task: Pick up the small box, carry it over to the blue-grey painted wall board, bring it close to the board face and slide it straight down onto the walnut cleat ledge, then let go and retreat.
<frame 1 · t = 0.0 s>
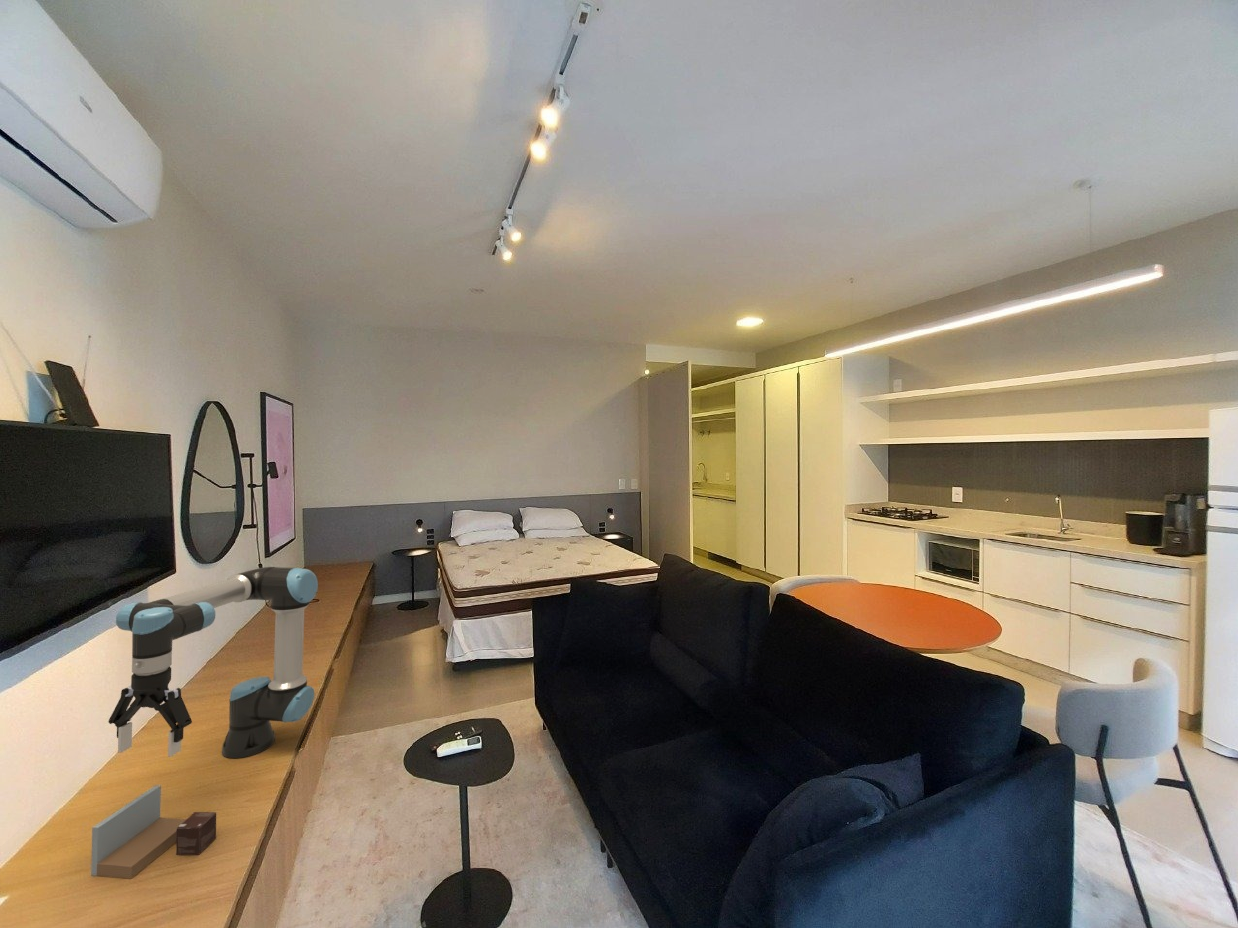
hand: (149, 752, 128), 28 cm above the tv stand, fingers open, 13 cm apart
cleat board: (142, 851, 131), on the tv stand
box: (196, 847, 133), on the tv stand
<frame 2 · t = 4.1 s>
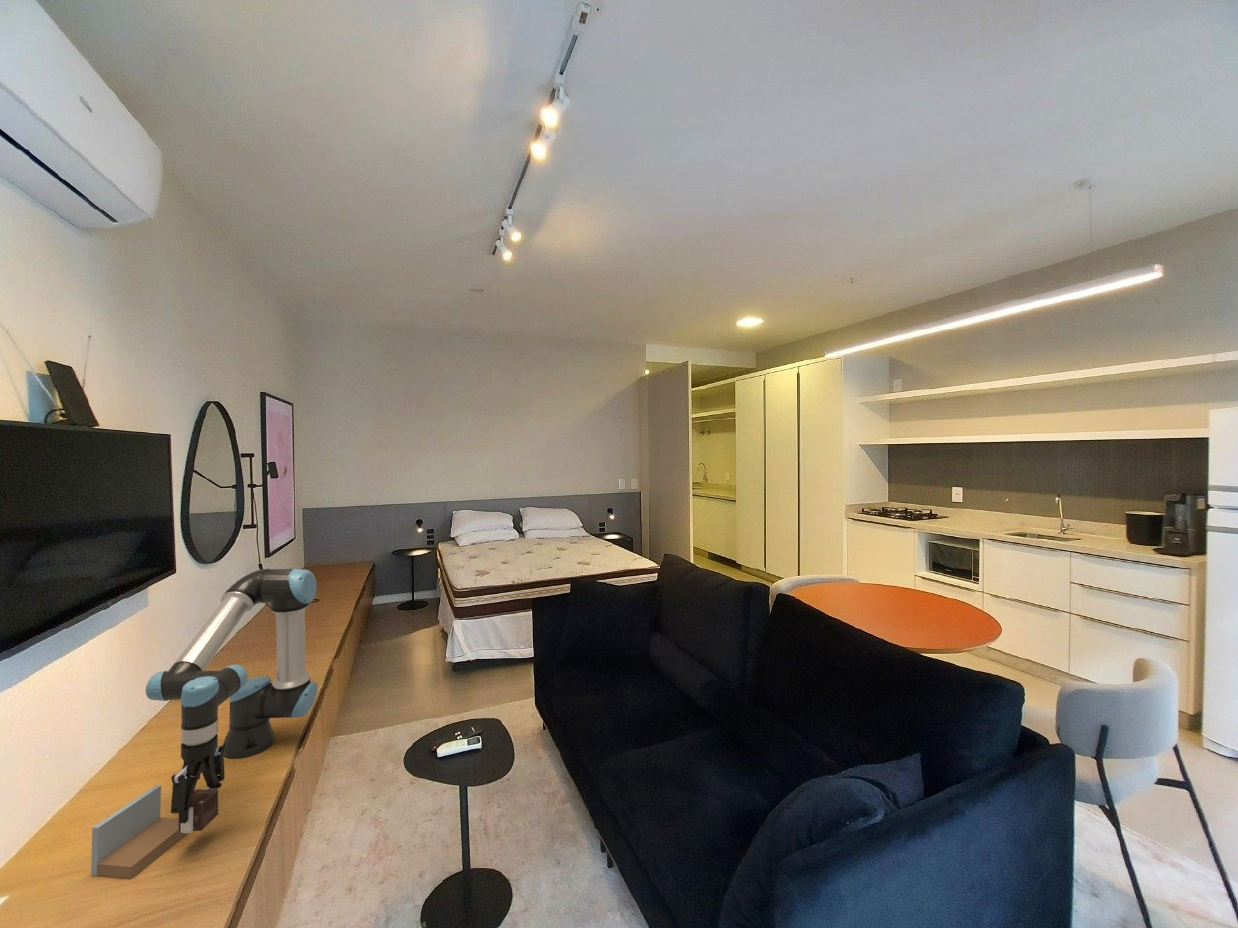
hand: (198, 821, 134), 6 cm above the tv stand, fingers closed on box, 6 cm apart
box: (198, 824, 134), point 6 cm above the tv stand, touching gripper
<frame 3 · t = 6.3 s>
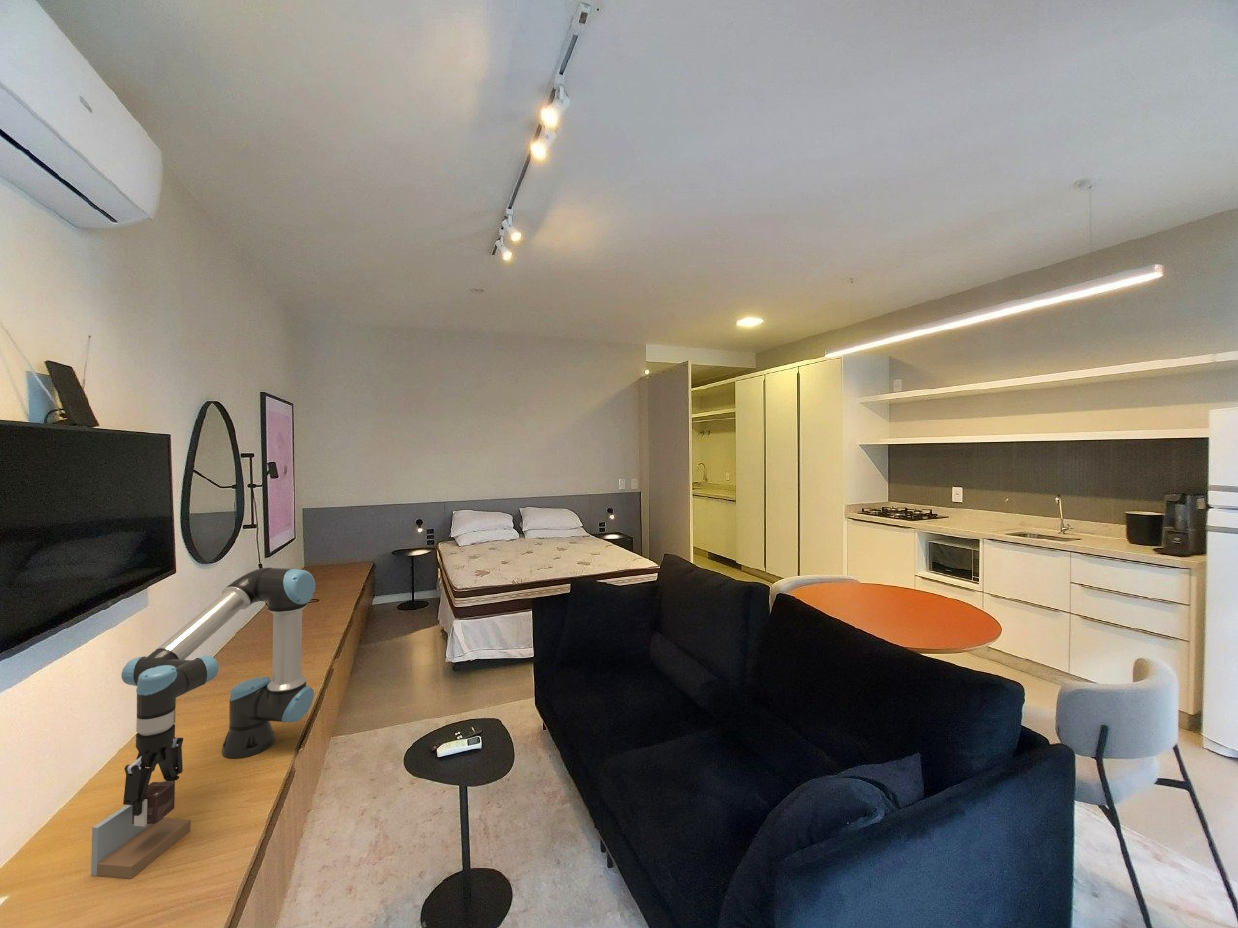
hand: (153, 815, 131), 10 cm above the tv stand, fingers closed on box, 6 cm apart
box: (153, 817, 131), point 9 cm above the tv stand, touching gripper
when the fingers open (3 cm above the tv stand, at t = 8.4 s): box stays where it is, resting on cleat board.
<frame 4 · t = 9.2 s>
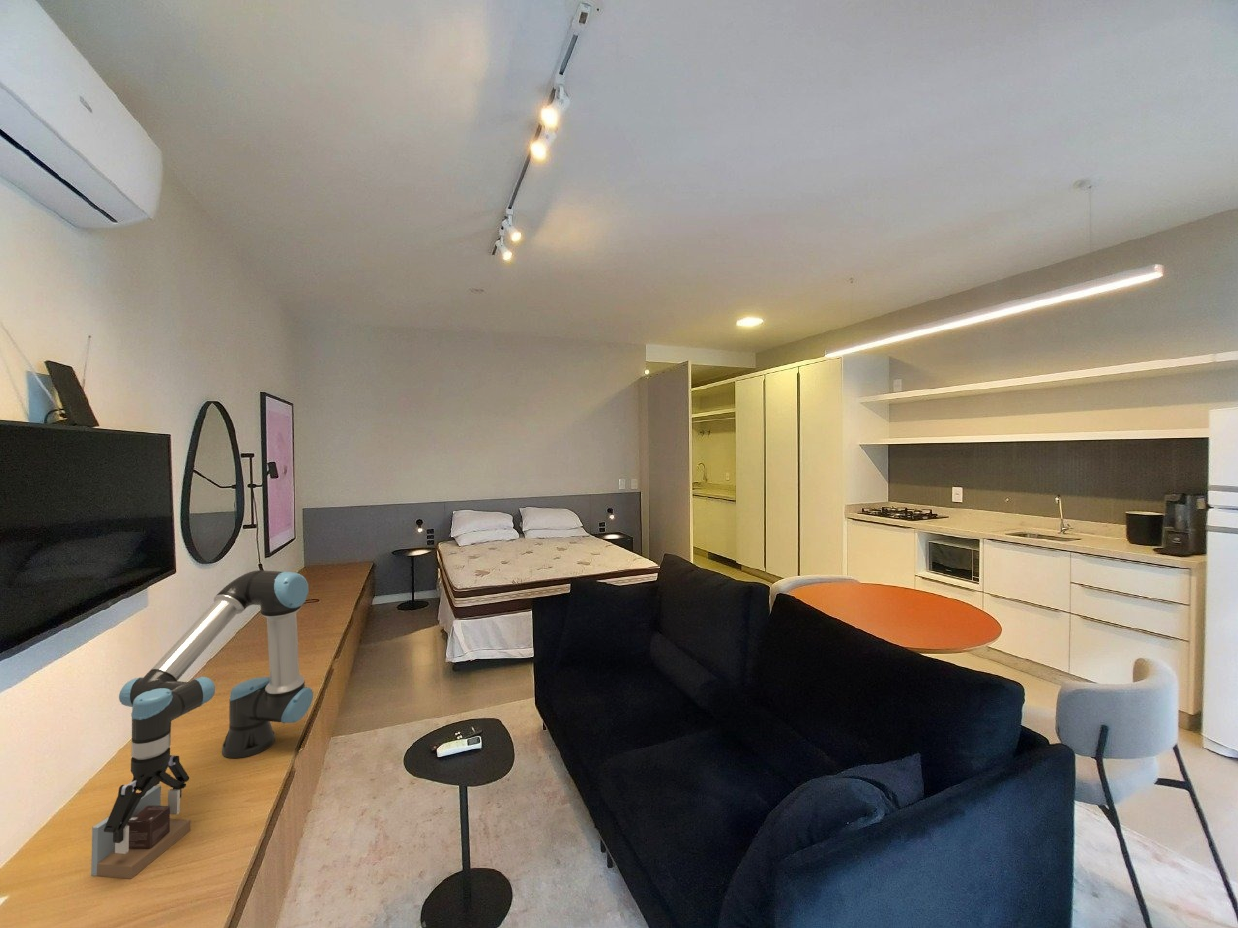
hand: (149, 832, 131), 5 cm above the tv stand, fingers open, 13 cm apart
box: (148, 841, 131), point 3 cm above the tv stand, touching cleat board
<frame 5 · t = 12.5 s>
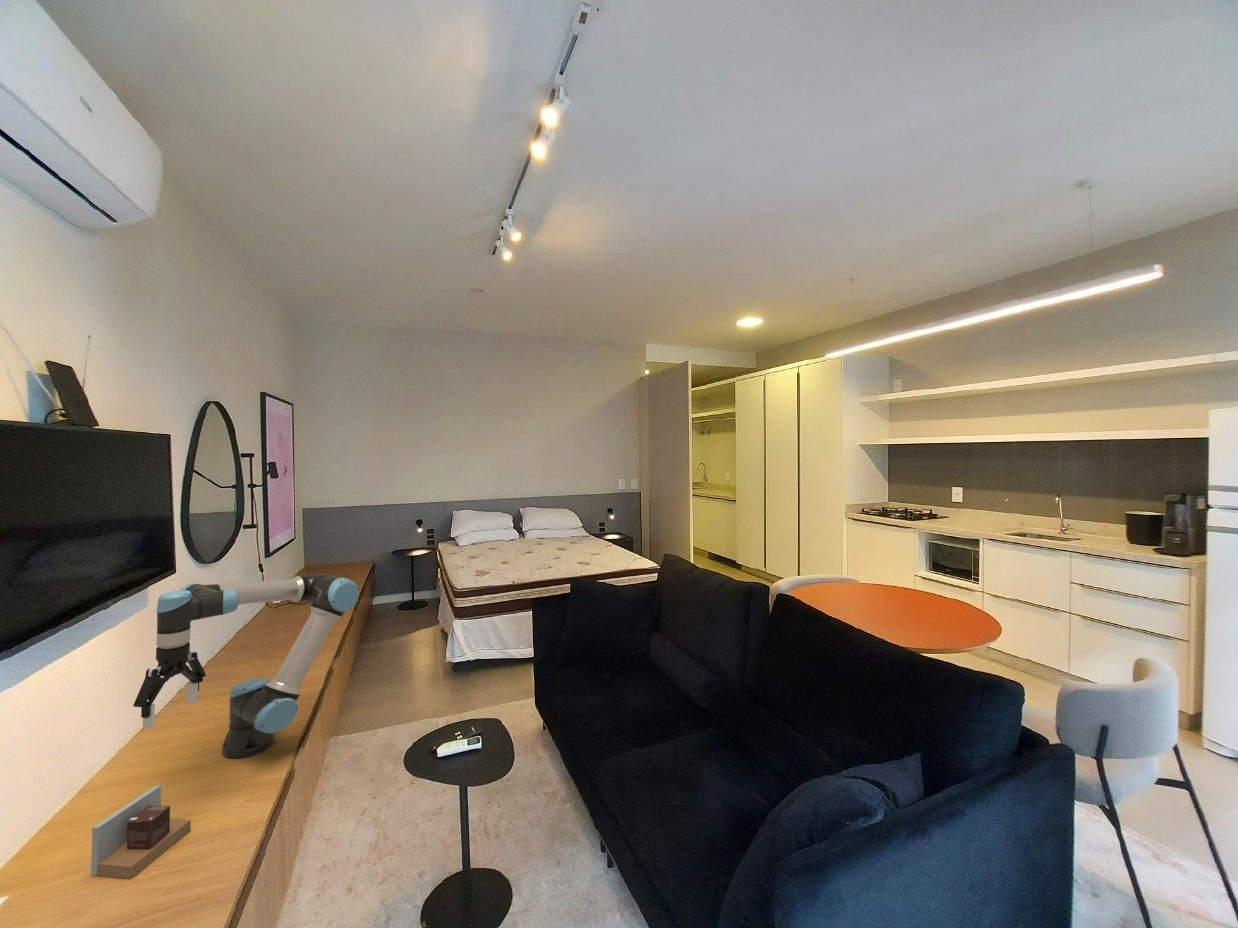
hand: (171, 715, 148), 27 cm above the tv stand, fingers open, 13 cm apart
nothing on the tv stand moved.
at the end: box inside the target area on the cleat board (0.2 cm from its centre), point 2.8 cm above the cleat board's base; box tilted 0°; the gripper is holding nothing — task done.
